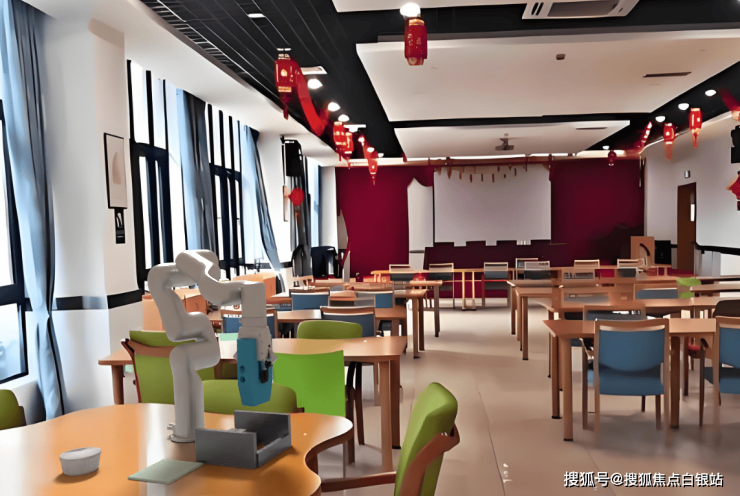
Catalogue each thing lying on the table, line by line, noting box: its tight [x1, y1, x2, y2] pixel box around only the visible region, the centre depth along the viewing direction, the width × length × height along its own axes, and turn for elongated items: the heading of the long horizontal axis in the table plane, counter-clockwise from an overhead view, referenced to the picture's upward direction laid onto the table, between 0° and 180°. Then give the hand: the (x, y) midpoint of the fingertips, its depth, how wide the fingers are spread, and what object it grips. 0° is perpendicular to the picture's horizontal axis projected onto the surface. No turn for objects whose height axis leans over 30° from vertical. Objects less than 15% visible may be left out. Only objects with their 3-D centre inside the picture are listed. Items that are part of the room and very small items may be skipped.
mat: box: [127, 458, 204, 485], centre depth 177 cm, size 14×15×1 cm
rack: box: [194, 409, 292, 470], centre depth 190 cm, size 20×22×10 cm
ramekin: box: [58, 446, 102, 477], centre depth 181 cm, size 11×11×5 cm
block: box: [236, 333, 274, 408], centre depth 189 cm, size 12×5×20 cm, turn 152°
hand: (255, 381), depth 189 cm, fingers closed on block, 5 cm apart
